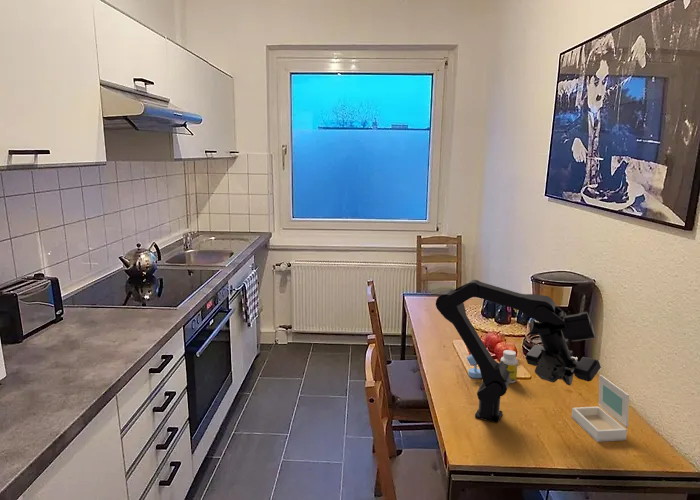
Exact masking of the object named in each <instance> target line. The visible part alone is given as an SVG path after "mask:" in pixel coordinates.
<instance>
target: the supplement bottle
mask: <svg viewBox="0 0 700 500" xmlns="http://www.w3.org/2000/svg"><path fill="white" fill-rule="evenodd" d="M502 355H503V356H501V358H500V362H501V361H503V362H504V365H505V367H506V369H507V370H508V371H509V372H510V375H509V376H510V383H509V384H512V383H513V384H514V383H515V382H516V381H517V375H518V364H519V363H518V362H519V361H518V359H517V353H516V351H514V350H512V349H505V350H503V352H502Z"/></svg>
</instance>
